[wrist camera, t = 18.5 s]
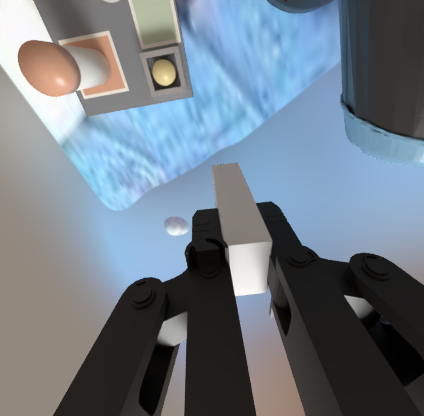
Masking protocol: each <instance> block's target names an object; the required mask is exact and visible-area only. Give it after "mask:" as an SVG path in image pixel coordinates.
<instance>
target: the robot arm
mask: <svg viewBox="0 0 424 416" xmlns="http://www.w3.org/2000/svg"><path fill="white" fill-rule="evenodd" d="M267 1H268V2H269V3H270V4H272V5H273V6H274V7H276V8H278V9H280V10H282V11H285V12H288V13H306V12H310V11H313V10H316V9H318V8H320V7H322V6H324V5H326V4H328V3H330V2H332V1H333V0H267ZM339 21H340V46H341V70H342V94H341V97H340V103H341V107H342V109H343V112H344V121H345V130H346V135H347V137H348V139H349V141H350V142H351V143H352V145H354V146H355V147H356V148H358V149H360V150H362V151H363V153H365V154H366V155H368V156H371V157H373V158H376V159H379V160H382V161H385V162H389V163H393V164H398V165H405V166H413V167H424V0H339ZM212 172H213V183H214V195H215V205H216V208H214V209H205V210H197V211H196V213H195V214H194V216H193V217H192V219H193V220H192V241H191V242H190V243H189V244H188V245H187V247H186V250H185V257H186V261H187V266H188V268H187V269H186V271H184V272H183V273H182V274H181V275H179V276H177V277H175V278H173V279H170V280H168V281H165V282H163V283H162V282H161V281H160V280H159V279H156V278H152V277H150V278H143V279H140V280H138V281H135V282H134V283H133V284H131V285H130V286H129V287H128V288H127V289H126V290H125V292H124V293H123V294H122V296H121V298H120V299H119V301H118V303H117V305H116V306H115V309H114V310H113V312H112V313H111V315H110V317H109V319H108V320H107V322H106V324H105V326H104V328H103V329H102V331H101V333H100V334H99V336H98V338H97V340H96V341H95V343H94V345H93V347H92V348H91V350H90V352H89V354H88V355H87V357H86V359H85V361H84V363H83V364H82V366H81V368H80V369H79V371H78V373H77V375H76V376H75V378H74V380H73V382H72V384H71V385H70V387H69V389H68V390H67V392H66V394H65V396H64V397H63V399H62V401H61V402H60V404H59V406H58V408H57V409H56V411H55V413H54V415H53V416H161V412H162V408H163V405H164V401H165V397H166V394H167V390H168V386H169V382H170V378H171V375H172V371H173V367H174V364H175V359H176V356H177V353H178V349H179V345H180V343H181V342H183V341H185V340H187V344H186V345H187V346H186V378H185V379H186V380H185V413H184V416H256V411H255V406H254V400H253V395H252V389H251V383H250V377H249V372H248V366H247V360H246V355H245V349H244V343H243V338H242V332H241V327H240V321H239V315H238V309H237V304H236V298H235V296H240V295H248V294H258V293H266V292H267V288H268V286H269V289H270V292H271V295H272V296H271V304H270V318H273V314H274V316H275V320H276V323H277V326H278V329H279V332H280V335H281V339H282V342H283V345H284V348H285V351H286V354H287V358H288V361H289V364H290V367H291V370H292V373H293V377H294V380H295V383H296V386H297V389H298V393H299V396H300V399H301V402H302V405H303V408H304V411H305V415H306V416H424V285H423V284H421V283H420V282H418V281H417V280H416V279H414V278H413V277H411V276H410V275H409V274H408V273H406V272H405V271H403V270H402V269H401V268H399V267H398V266H396V265H395V264H394V263H392V262H390V261H389V260H387V259H385V258H384V257H381V256H378V255H375V254H370V253H359V254H355V255H354V256H352V257H351V259H350V261H349V263H347V262H340V261H333V260H327V259H323V258H320V257H319V256H318V255H317V254H316V253H315V252H314V251H313V250H311V249H309V248H308V247H306V246H302V244H301V243H300V241H299V239H298V237H297V236H296V234H295V232H294V231H293V229H292V228H291V226H290V224H289V223H288V222H287V219H286V218H285V216H284V214H283V213H282V211H281V209H280V208H279V207H278V206H277V205H275V204H274V203H273V202H262V203H255V201H254V199H253V196H252V194H251V192H250V189H249V187H248V185H247V183H246V180H245V178H244V176H243V174H242V171H241V169H240V167H239V165H238V163H230V164H220V165H212Z"/></svg>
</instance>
